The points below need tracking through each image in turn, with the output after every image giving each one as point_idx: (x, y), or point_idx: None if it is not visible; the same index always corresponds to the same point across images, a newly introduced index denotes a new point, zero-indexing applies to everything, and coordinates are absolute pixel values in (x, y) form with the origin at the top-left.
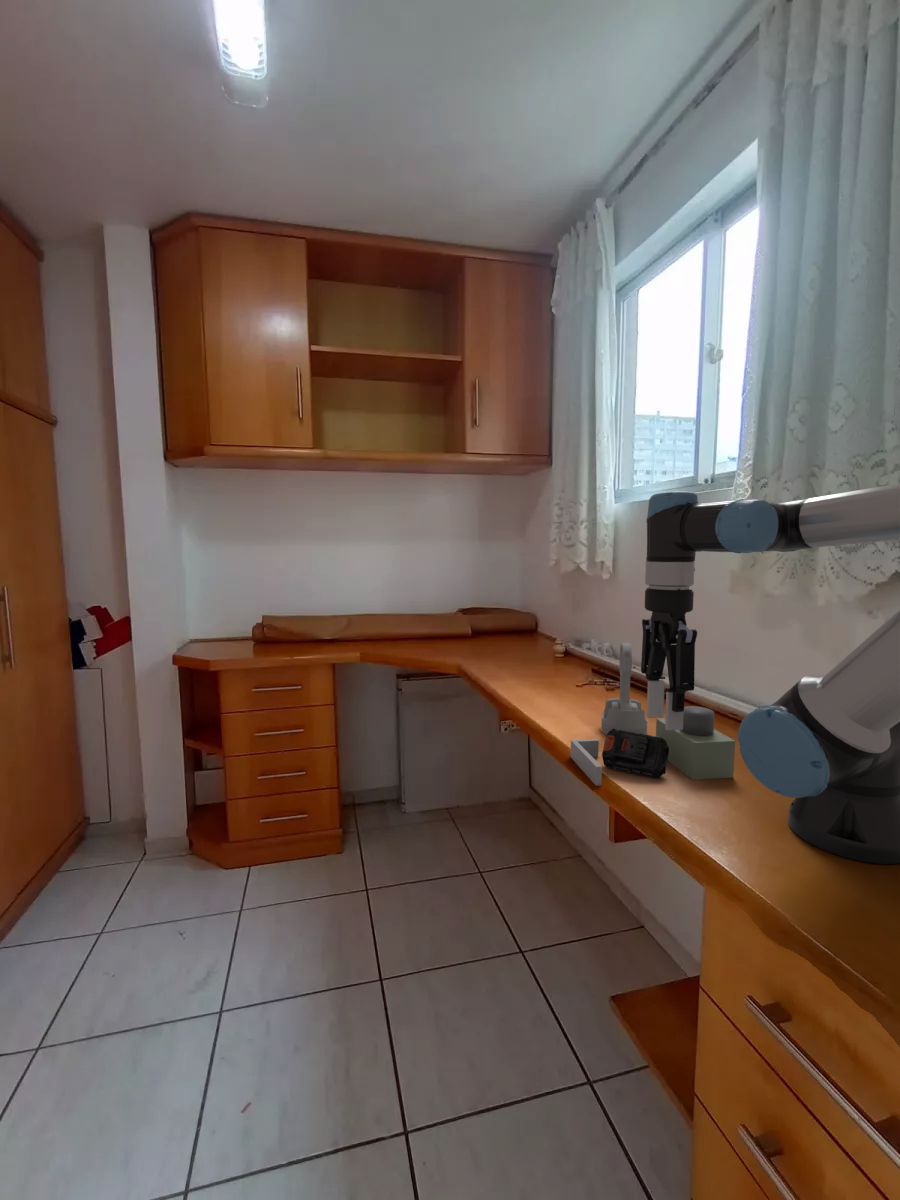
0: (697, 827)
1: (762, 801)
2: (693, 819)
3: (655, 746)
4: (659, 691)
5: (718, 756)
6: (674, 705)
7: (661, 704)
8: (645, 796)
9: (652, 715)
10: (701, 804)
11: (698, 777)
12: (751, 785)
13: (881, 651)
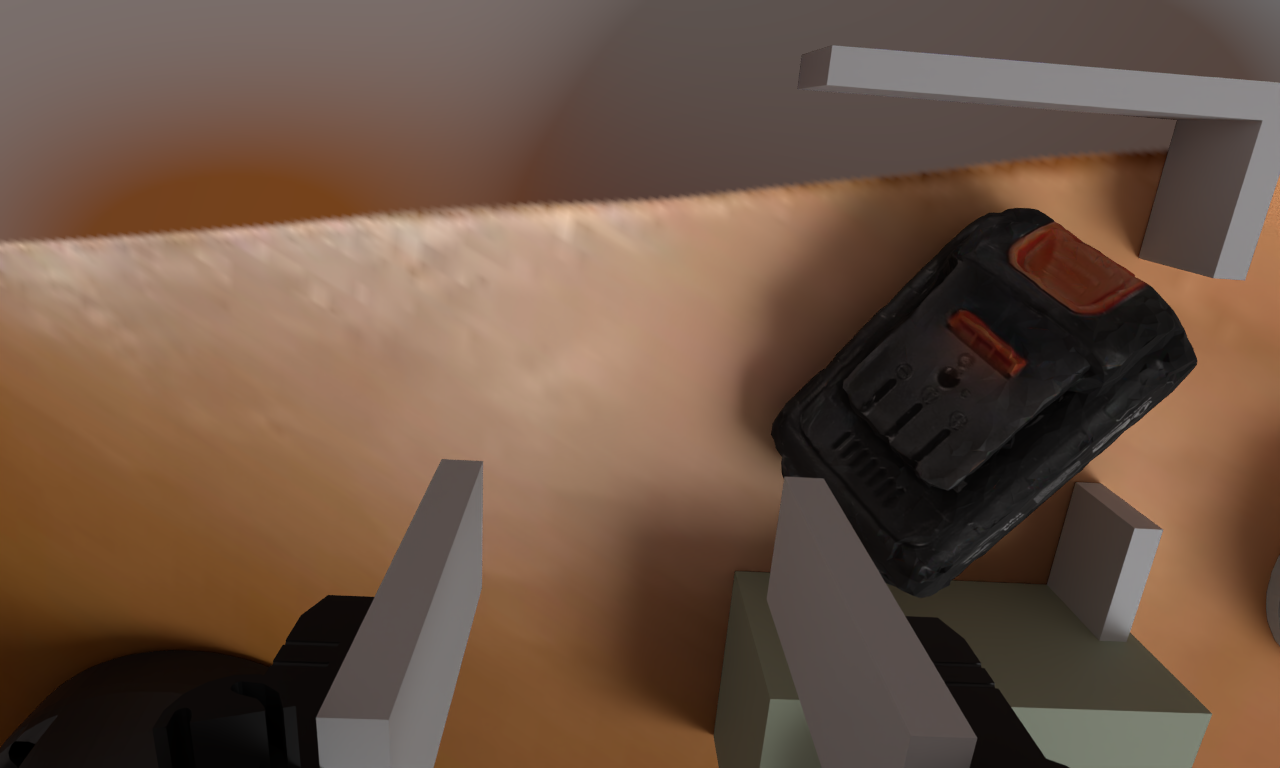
0: (301, 329)
1: (489, 707)
2: (373, 354)
3: (888, 508)
4: (839, 744)
5: (737, 753)
6: (322, 639)
7: (796, 660)
8: (624, 262)
9: (784, 521)
10: (502, 469)
11: (734, 601)
12: (629, 754)
13: None
